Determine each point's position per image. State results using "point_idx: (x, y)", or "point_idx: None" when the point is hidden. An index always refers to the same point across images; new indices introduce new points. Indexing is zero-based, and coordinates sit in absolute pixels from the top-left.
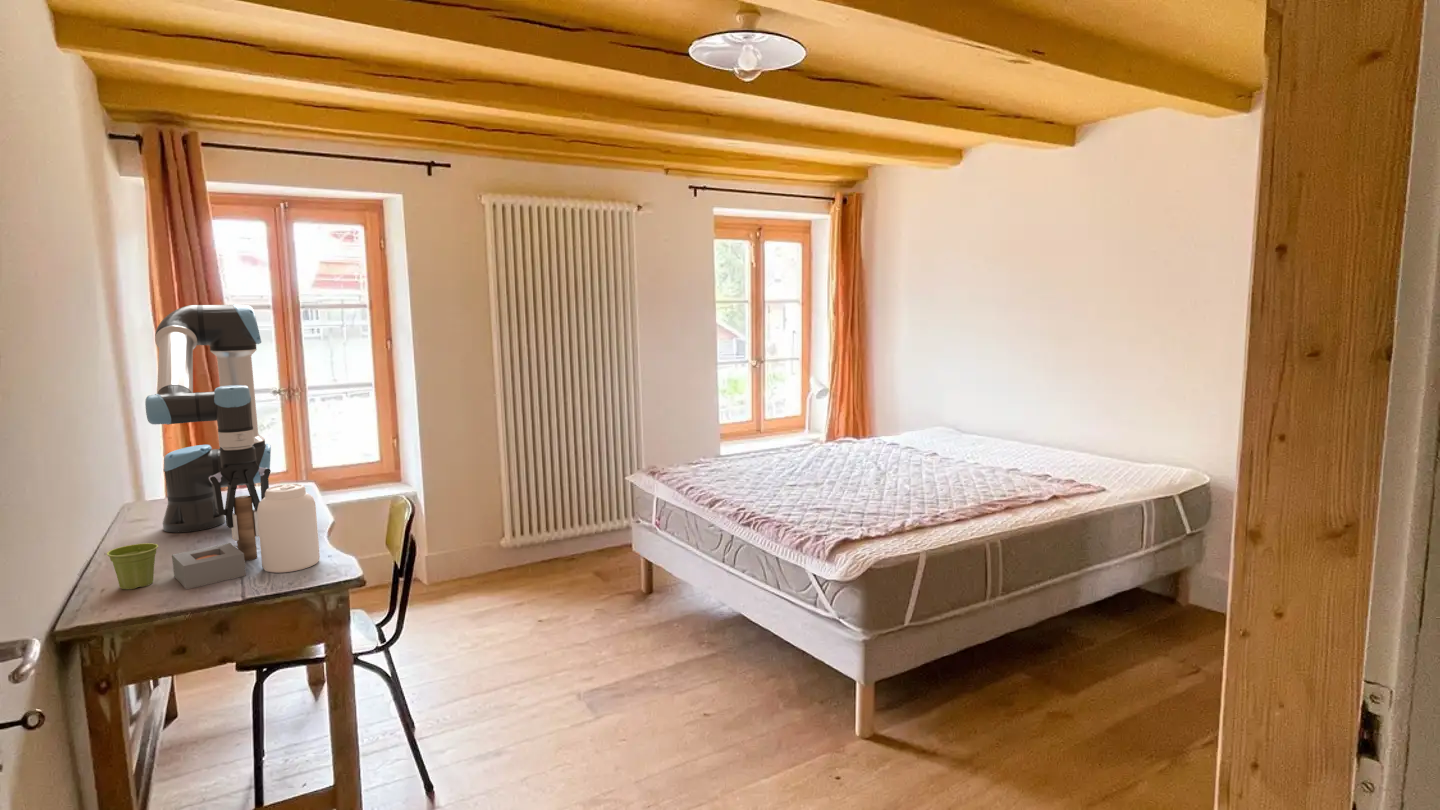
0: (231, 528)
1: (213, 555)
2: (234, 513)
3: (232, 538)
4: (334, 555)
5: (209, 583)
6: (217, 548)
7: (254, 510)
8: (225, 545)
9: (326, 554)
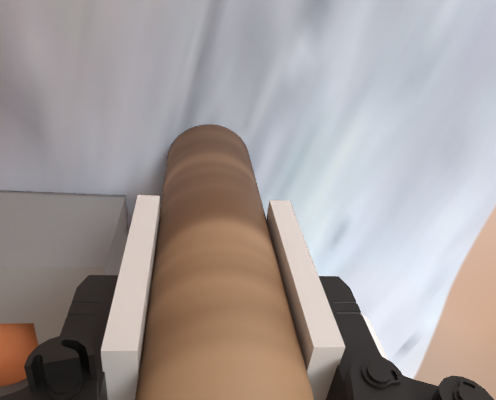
0: (126, 242)
1: (7, 333)
2: (136, 391)
3: (137, 198)
4: (417, 349)
5: None
6: (24, 318)
7: (324, 380)
8: (72, 297)
9: (414, 326)
